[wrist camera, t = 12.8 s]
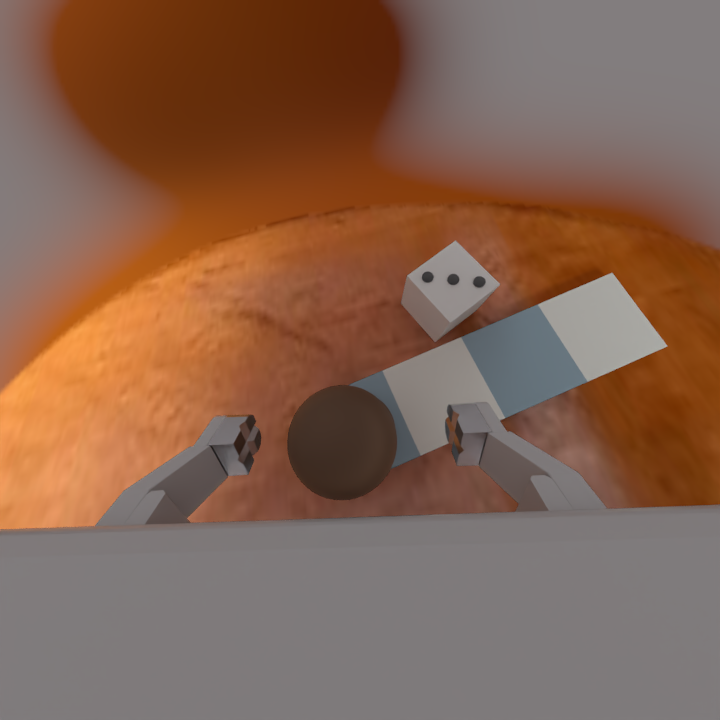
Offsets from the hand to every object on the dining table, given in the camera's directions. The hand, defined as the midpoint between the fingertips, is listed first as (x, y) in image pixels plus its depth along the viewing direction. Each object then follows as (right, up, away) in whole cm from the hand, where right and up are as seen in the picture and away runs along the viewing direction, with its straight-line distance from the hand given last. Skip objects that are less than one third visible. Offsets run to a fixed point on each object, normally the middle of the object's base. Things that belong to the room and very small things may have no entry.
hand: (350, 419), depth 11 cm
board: (+9, +1, +7) cm, 11 cm away
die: (+6, +7, +9) cm, 13 cm away
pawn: (0, -2, +6) cm, 6 cm away
